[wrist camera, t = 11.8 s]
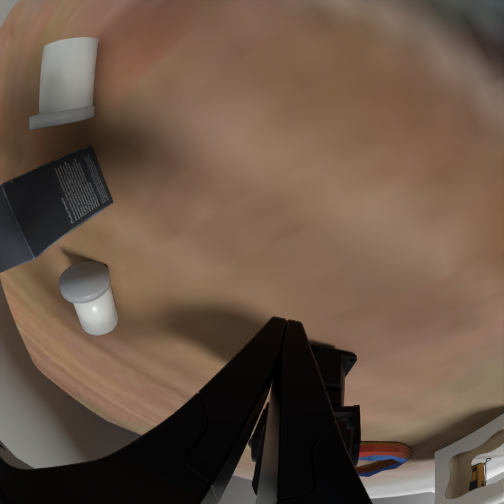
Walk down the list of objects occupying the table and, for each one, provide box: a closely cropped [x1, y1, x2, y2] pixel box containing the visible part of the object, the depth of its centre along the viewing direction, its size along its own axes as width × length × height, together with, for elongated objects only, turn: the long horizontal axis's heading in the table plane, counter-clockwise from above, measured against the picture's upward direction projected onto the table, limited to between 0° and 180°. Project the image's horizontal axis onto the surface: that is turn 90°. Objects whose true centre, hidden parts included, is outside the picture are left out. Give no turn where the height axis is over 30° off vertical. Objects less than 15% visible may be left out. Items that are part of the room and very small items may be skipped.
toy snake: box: [355, 442, 413, 477], centre depth 42 cm, size 31×22×5 cm
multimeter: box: [469, 458, 491, 492], centre depth 35 cm, size 15×10×20 cm
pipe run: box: [29, 37, 118, 335], centre depth 21 cm, size 30×6×6 cm, turn 172°
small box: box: [0, 145, 113, 273], centre depth 19 cm, size 11×6×10 cm, turn 108°
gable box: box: [434, 413, 504, 504], centre depth 20 cm, size 22×13×28 cm, turn 153°
